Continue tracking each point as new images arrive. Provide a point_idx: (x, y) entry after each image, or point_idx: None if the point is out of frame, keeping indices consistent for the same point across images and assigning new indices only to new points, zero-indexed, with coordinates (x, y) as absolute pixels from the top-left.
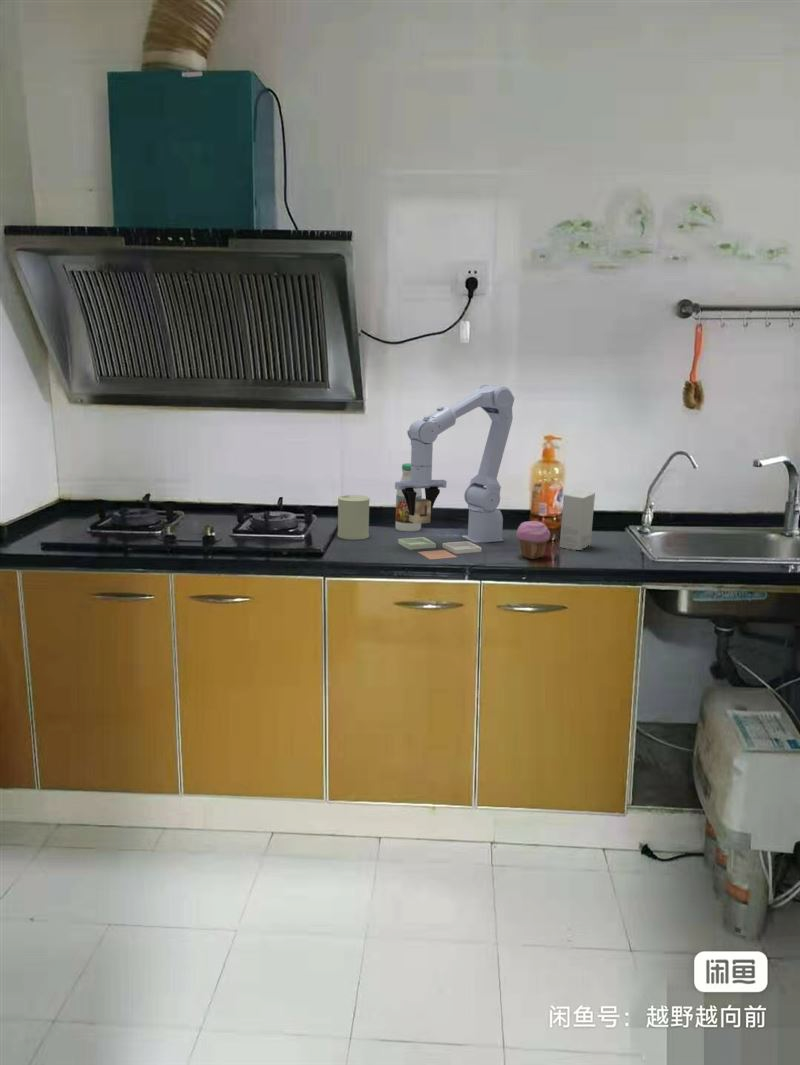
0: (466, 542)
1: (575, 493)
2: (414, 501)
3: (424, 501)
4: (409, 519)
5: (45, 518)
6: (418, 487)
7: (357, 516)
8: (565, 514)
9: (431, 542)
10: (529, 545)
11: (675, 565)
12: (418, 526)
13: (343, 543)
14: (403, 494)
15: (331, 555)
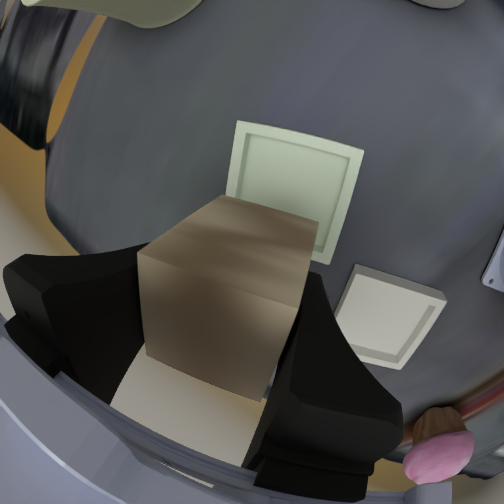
0: (432, 305)
1: None
2: (136, 347)
3: (209, 381)
4: (219, 198)
5: None
6: (113, 427)
7: (90, 9)
8: None
9: (326, 242)
10: (412, 446)
11: (483, 462)
12: (448, 3)
13: (107, 54)
14: (56, 260)
15: (57, 165)
